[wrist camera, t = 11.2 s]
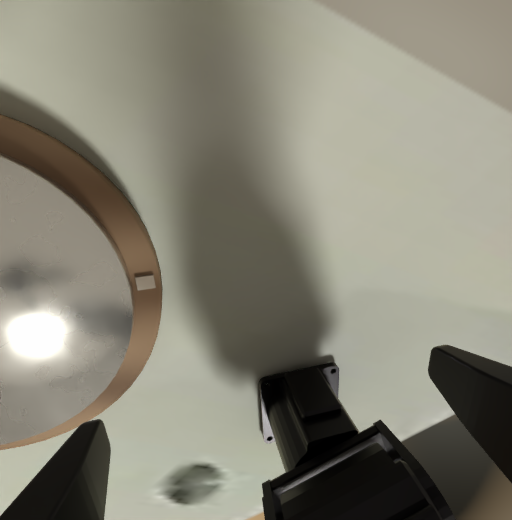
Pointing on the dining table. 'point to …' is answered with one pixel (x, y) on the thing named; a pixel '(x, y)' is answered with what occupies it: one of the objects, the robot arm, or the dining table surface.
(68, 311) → the dial
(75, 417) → the dial base
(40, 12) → the dining table surface
